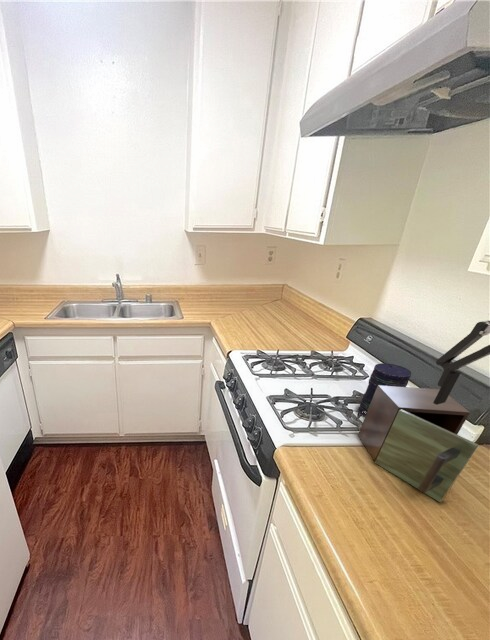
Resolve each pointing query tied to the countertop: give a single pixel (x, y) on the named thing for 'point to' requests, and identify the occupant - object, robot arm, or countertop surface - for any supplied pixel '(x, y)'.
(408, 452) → the door
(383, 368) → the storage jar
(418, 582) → the countertop surface
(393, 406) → the cupboard
